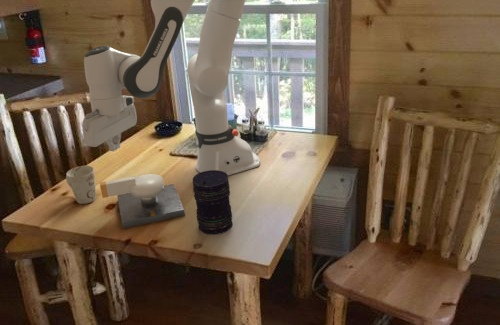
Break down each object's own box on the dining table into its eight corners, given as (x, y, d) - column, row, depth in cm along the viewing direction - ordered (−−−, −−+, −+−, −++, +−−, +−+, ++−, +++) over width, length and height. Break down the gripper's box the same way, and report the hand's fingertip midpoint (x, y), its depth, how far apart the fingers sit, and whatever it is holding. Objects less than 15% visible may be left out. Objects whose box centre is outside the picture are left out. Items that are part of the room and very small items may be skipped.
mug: (85, 208, 155) (78, 179, 151) (58, 199, 161) (51, 171, 157) (105, 196, 161) (99, 168, 157) (79, 188, 168) (72, 161, 164)
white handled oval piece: (161, 180, 156) (159, 165, 153) (166, 194, 147) (164, 179, 145) (102, 191, 151) (99, 177, 149) (104, 207, 142) (100, 191, 140)
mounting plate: (174, 189, 163) (172, 173, 160) (185, 215, 147) (182, 198, 144) (118, 200, 158) (114, 184, 156) (123, 228, 142) (119, 211, 140)
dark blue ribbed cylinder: (211, 213, 147) (205, 167, 141) (239, 220, 142) (235, 173, 136) (191, 230, 139) (184, 182, 133) (220, 238, 135) (215, 189, 128)
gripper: (91, 117, 133) (100, 164, 138) (137, 95, 150) (143, 138, 155) (73, 115, 135) (82, 161, 141) (120, 94, 152) (126, 136, 158)
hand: (114, 149), depth 148 cm, fingers closed
